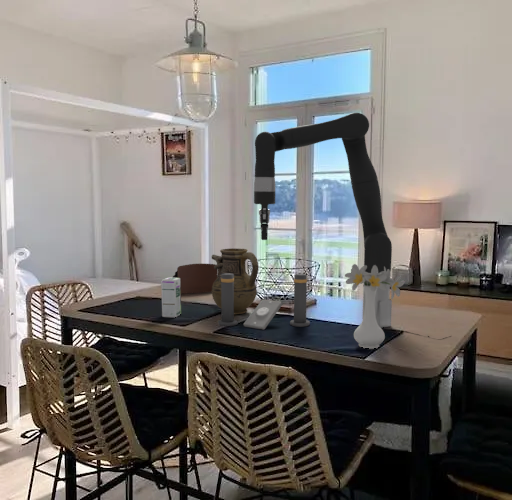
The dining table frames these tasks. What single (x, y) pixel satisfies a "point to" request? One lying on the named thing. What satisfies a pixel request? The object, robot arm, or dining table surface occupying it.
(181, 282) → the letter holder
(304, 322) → the post
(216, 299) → the decorative pitcher
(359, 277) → the flower vase
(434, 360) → the dining table surface
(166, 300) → the syrup box
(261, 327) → the light switch
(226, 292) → the post
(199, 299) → the dining table surface
